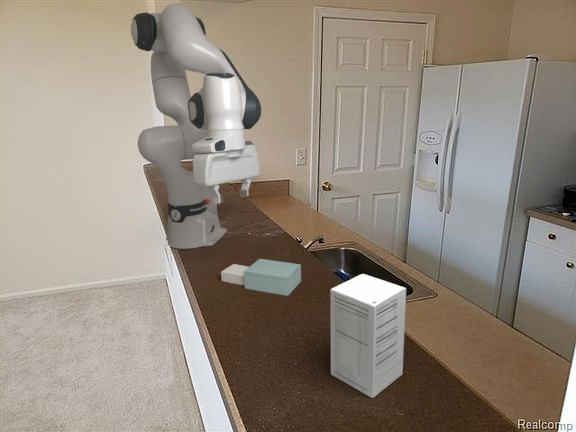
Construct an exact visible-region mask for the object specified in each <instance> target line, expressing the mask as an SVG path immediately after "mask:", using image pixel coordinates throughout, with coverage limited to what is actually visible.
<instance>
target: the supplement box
mask: <svg viewBox="0 0 576 432" xmlns="http://www.w3.org/2000/svg"><path fill="white" fill-rule="evenodd" d="M329 295H330V296H329V297H330V311H329V312H330V375H331V376H333V377H335V378H336V379H338V380H340V381H341V382H343V383H345V384H347V385H348V386H350V387H352V388H354V389H355V390H357V391H359V392H361V393H362V394H364V395H366V396H367V397H368V398H371V399H374V398H375V397H376V396H377V395H379V394H380V393H381V392H382V391H384V390H385V389H386V388H388V386H390V385H391V384H392V383H394V382H395V381H396V380H397V379H399V378H400V377H401V376H402V375H403V373H404V372H403V369H404V350H405V349H404V346H405V326H406V325H405V324H406V323H405V322H406V302H407V301H406V300H407V298H406V297H407V288H406V287H404V286H400V285H398V284H395V283H392V282H389V281H387V280H383V279H381V278H377V277H374V276H371V275H368V274H365V273H362V274H359V275H357V276H355V277H352V278H350V279H349V280H347V281H344V282H342V283H340V284H337V285H336V286H334V287H332V288H330V293H329Z"/></svg>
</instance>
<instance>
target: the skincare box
mask: <svg viewBox="0 0 576 432" xmlns="http://www.w3.org/2000/svg"><path fill="white" fill-rule="evenodd" d="M202 198H203V200H204V199H210V201H211V202H210V205H207V204H205V205H206V208H207V210H208V211H210V212H211V213H212V214H214V215H216V216H217V217H218V218H219V216H218V215H219V214H218V210H217V204H215V203H214V201H213V196H212V194H211V193H210V191H209V189H208V187H202Z"/></svg>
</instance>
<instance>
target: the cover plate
mask: <svg viewBox="0 0 576 432" xmlns="http://www.w3.org/2000/svg"><path fill="white" fill-rule="evenodd" d="M249 267H250V266H247V265H241V264H236V263H233V264H231V265H230V266H229V267H226V268H225V269H223V270H222V271H221V272H220V277H221V278H220V279H221V281H222V282H226V283H230V284H234V285H239V286H244V287H245V282H244V271H245V270H246V269H247V268H249Z"/></svg>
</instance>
